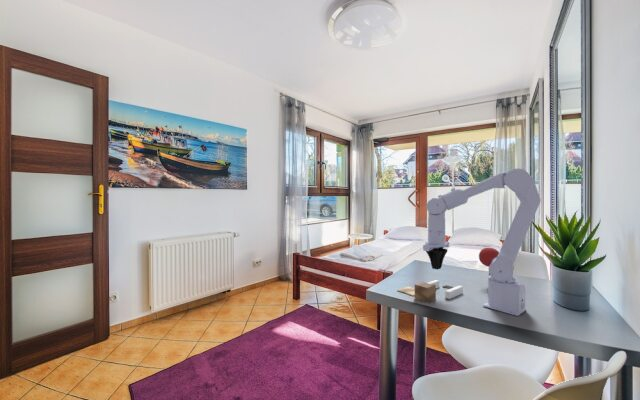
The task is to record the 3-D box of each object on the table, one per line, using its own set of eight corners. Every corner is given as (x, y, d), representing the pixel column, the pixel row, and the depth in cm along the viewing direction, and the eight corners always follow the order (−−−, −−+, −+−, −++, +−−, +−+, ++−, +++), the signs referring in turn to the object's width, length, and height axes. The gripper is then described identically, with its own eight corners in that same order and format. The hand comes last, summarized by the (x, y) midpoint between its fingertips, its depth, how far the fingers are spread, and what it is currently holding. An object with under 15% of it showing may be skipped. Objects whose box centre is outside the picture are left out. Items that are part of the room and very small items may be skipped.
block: (435, 299, 92) (435, 285, 92) (427, 303, 89) (428, 288, 89) (422, 295, 96) (422, 281, 96) (414, 298, 93) (414, 284, 93)
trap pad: (461, 289, 103) (461, 289, 103) (457, 291, 101) (457, 290, 101) (446, 285, 108) (446, 285, 108) (442, 287, 106) (442, 286, 106)
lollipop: (500, 288, 104) (500, 250, 104) (477, 284, 109) (477, 248, 109) (501, 283, 110) (501, 247, 110) (480, 280, 115) (480, 245, 115)
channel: (462, 293, 99) (462, 286, 99) (449, 299, 93) (449, 292, 93) (435, 286, 107) (435, 279, 107) (421, 291, 101) (421, 284, 101)
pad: (424, 292, 100) (424, 291, 100) (413, 296, 95) (413, 295, 95) (408, 287, 105) (408, 286, 105) (397, 290, 101) (397, 289, 101)
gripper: (436, 229, 105) (436, 263, 105) (415, 231, 96) (415, 269, 96) (454, 230, 100) (454, 267, 99) (434, 233, 91) (434, 273, 91)
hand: (436, 268), depth 97 cm, fingers closed
